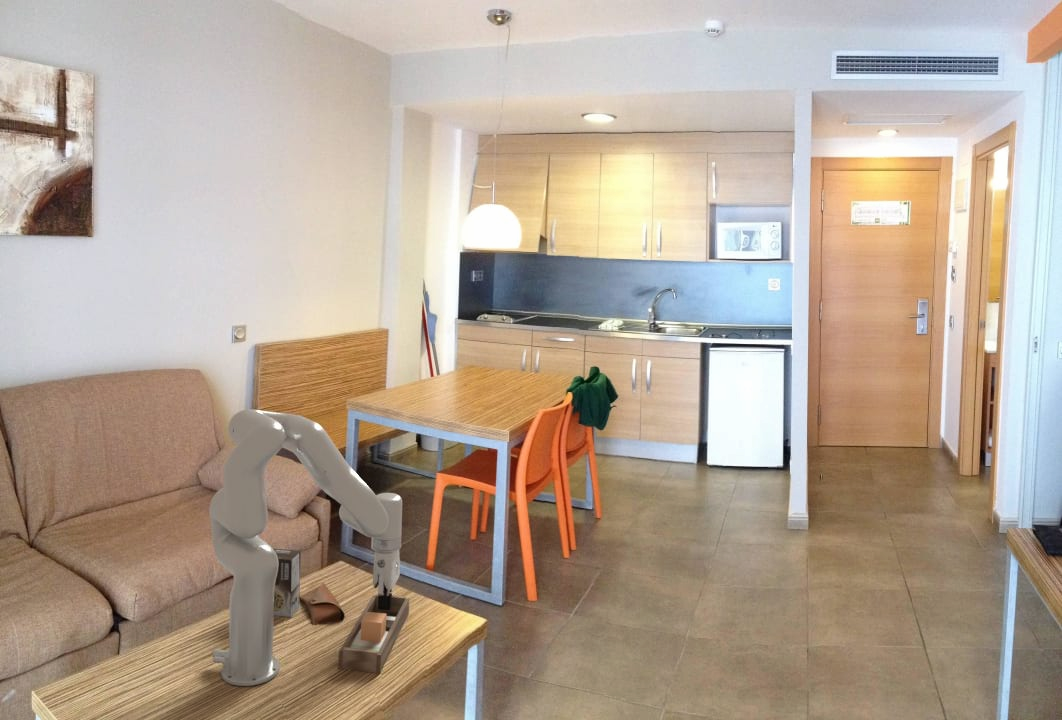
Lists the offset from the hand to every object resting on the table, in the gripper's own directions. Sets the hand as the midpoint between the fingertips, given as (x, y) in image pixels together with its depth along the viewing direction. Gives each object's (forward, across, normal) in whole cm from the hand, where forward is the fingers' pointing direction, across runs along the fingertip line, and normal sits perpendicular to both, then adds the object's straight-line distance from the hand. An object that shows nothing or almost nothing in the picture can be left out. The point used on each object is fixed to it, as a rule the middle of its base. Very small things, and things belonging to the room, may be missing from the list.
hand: (384, 608), depth 207 cm
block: (+3, -10, 0) cm, 10 cm away
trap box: (+5, -6, 0) cm, 8 cm away
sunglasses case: (+6, +7, +20) cm, 22 cm away
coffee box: (+5, +4, +30) cm, 30 cm away
